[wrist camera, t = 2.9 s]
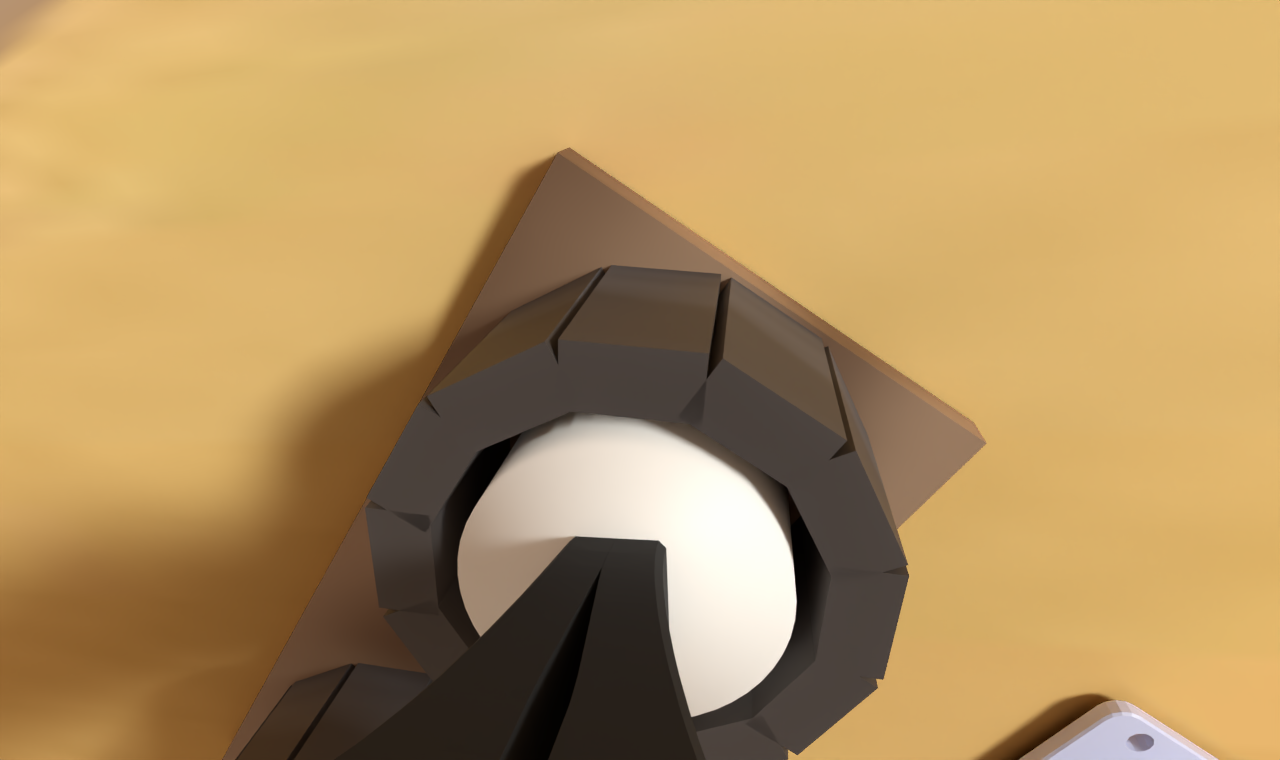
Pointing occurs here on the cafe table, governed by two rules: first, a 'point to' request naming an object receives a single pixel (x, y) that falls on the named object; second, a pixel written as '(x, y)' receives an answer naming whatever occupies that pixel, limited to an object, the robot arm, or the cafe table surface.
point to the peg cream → (646, 537)
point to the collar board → (634, 388)
